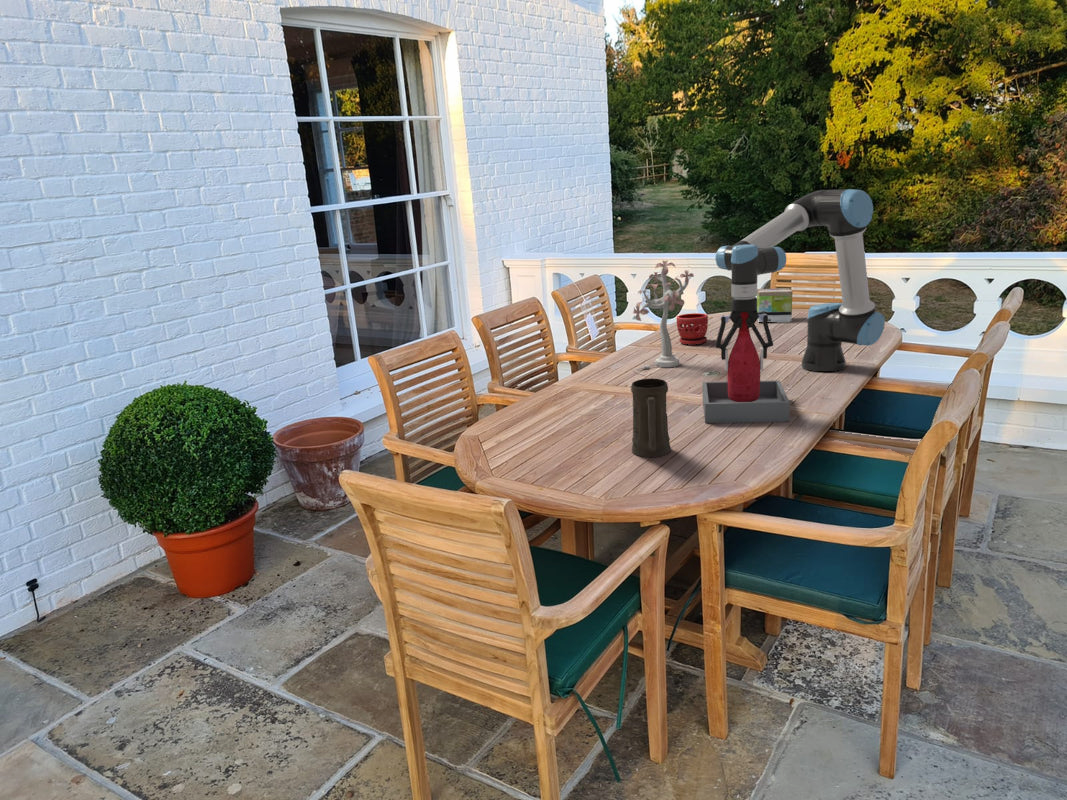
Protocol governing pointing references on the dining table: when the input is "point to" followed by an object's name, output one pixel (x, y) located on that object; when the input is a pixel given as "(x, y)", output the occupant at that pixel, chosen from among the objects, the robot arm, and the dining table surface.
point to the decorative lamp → (668, 296)
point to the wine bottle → (743, 367)
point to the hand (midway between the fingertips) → (743, 369)
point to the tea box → (775, 304)
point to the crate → (745, 404)
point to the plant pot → (692, 328)
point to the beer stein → (650, 418)
